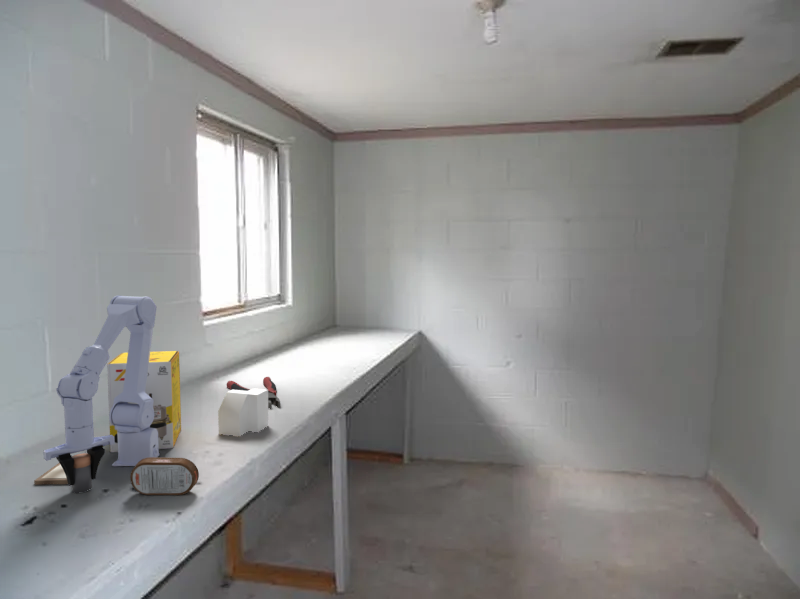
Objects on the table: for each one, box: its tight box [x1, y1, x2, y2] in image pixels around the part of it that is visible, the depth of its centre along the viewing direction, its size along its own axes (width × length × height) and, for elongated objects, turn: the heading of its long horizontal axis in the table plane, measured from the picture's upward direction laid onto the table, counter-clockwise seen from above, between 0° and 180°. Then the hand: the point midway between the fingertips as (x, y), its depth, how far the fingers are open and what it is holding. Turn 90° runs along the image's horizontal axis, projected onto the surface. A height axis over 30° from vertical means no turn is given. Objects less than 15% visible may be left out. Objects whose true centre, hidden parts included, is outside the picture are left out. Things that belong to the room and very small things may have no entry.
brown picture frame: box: [33, 462, 69, 486], centre depth 138 cm, size 8×11×1 cm
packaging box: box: [106, 350, 182, 453], centre depth 162 cm, size 16×16×25 cm
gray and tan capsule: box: [71, 452, 93, 494], centre depth 130 cm, size 4×4×8 cm
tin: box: [129, 456, 200, 496], centre depth 128 cm, size 15×3×8 cm, turn 92°
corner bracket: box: [217, 387, 269, 437], centre depth 172 cm, size 11×11×12 cm
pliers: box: [226, 376, 281, 410], centre depth 212 cm, size 37×18×3 cm, turn 30°
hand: (81, 481), depth 130 cm, fingers closed on gray and tan capsule, 4 cm apart
